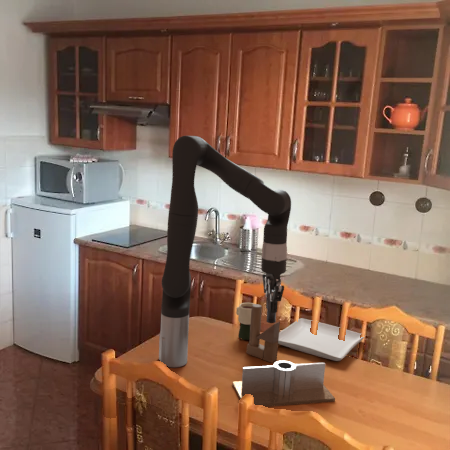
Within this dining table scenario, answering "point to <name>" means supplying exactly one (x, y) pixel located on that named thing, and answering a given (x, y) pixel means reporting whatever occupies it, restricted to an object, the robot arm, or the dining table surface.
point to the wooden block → (262, 337)
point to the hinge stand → (284, 384)
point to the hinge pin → (270, 316)
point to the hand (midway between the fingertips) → (271, 310)
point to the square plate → (318, 340)
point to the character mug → (244, 320)
